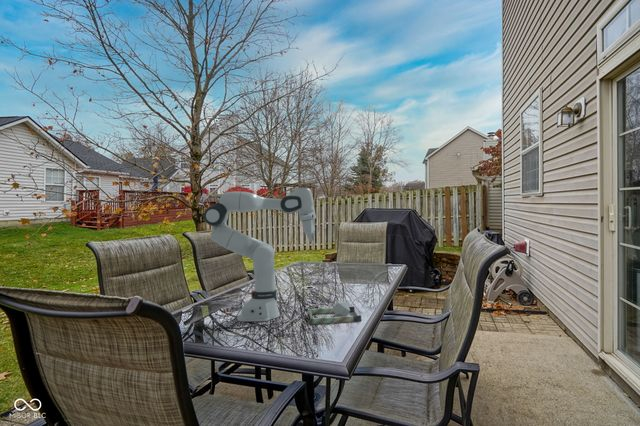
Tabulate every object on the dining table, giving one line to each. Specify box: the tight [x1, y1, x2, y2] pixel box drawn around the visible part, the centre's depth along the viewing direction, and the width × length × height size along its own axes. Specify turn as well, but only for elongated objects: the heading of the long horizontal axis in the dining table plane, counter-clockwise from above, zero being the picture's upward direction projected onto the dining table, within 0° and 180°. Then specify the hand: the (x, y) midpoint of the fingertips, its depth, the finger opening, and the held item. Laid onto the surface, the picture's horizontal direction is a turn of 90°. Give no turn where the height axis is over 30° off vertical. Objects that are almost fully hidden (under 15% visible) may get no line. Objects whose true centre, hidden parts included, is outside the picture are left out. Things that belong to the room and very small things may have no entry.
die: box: [331, 300, 350, 317], centre depth 182 cm, size 8×9×10 cm
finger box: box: [308, 306, 362, 325], centre depth 182 cm, size 25×19×3 cm
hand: (311, 241), depth 192 cm, fingers open, 8 cm apart
